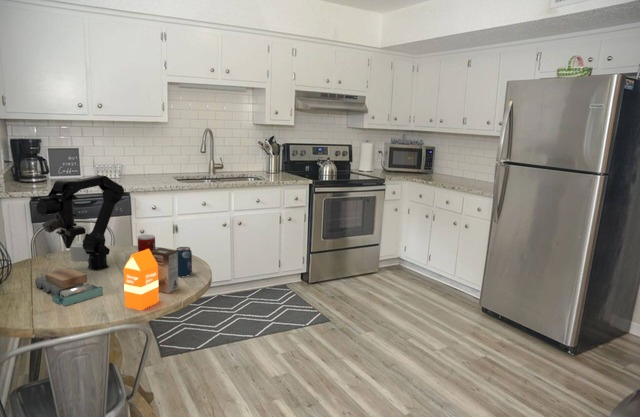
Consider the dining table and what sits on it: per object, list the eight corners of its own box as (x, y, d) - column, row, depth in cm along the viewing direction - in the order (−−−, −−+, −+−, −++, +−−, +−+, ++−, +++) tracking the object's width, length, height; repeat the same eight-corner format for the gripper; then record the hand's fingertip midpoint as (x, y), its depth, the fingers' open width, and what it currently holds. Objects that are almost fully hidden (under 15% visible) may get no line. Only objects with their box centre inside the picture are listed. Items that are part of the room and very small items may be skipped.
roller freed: (87, 291, 169) (87, 282, 168) (92, 294, 167) (92, 285, 166) (60, 299, 161) (59, 289, 160) (65, 302, 159) (65, 292, 158)
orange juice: (124, 306, 157) (122, 253, 153) (142, 298, 165) (140, 247, 161) (142, 310, 154) (140, 256, 151) (159, 301, 162) (157, 249, 159)
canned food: (149, 261, 208) (149, 239, 206) (134, 259, 210) (134, 237, 207) (158, 257, 215) (158, 235, 213) (144, 255, 217) (143, 233, 215)
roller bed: (68, 279, 181) (67, 269, 180) (104, 294, 167) (103, 283, 166) (29, 289, 169) (28, 278, 168) (63, 306, 155) (63, 295, 154)
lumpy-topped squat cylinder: (104, 259, 209) (103, 241, 207) (73, 263, 201) (71, 245, 200) (99, 253, 217) (98, 236, 215) (69, 257, 209) (68, 239, 208)
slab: (69, 275, 174) (69, 267, 173) (86, 281, 168) (86, 274, 167) (45, 281, 166) (45, 273, 166) (62, 288, 160) (62, 280, 159)
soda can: (192, 276, 190) (192, 250, 188) (175, 278, 187) (175, 251, 185) (191, 271, 196) (191, 245, 194) (175, 272, 194) (174, 246, 192)
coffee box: (149, 290, 173) (148, 251, 170) (160, 285, 179) (159, 247, 176) (168, 294, 170) (167, 254, 167) (179, 288, 176) (178, 250, 173)
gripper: (33, 210, 177) (36, 248, 180) (56, 217, 167) (59, 257, 169) (61, 207, 186) (64, 242, 189) (85, 213, 176) (87, 251, 179)
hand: (68, 248), depth 181 cm, fingers closed
